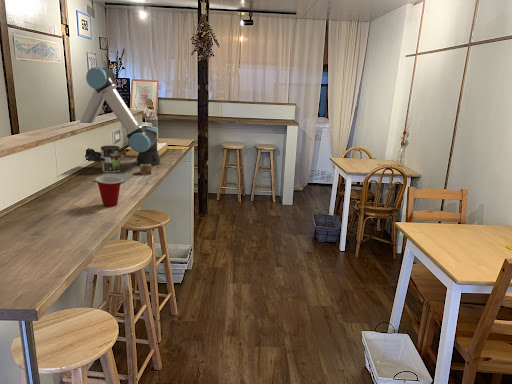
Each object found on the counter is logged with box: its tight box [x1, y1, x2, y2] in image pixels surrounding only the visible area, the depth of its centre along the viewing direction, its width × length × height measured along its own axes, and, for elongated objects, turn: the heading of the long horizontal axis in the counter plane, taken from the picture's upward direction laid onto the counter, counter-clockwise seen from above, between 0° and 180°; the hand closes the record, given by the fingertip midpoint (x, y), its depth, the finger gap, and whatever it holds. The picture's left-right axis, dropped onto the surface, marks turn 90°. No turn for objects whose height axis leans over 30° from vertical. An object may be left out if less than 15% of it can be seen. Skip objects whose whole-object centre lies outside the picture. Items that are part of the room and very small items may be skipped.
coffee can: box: [100, 145, 122, 174], centre depth 228 cm, size 10×10×14 cm
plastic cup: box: [95, 175, 123, 208], centre depth 169 cm, size 11×11×12 cm
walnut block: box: [139, 164, 152, 175], centre depth 227 cm, size 6×6×5 cm
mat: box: [92, 172, 134, 184], centre depth 212 cm, size 16×16×1 cm
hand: (116, 158), depth 226 cm, fingers closed on coffee can, 10 cm apart
